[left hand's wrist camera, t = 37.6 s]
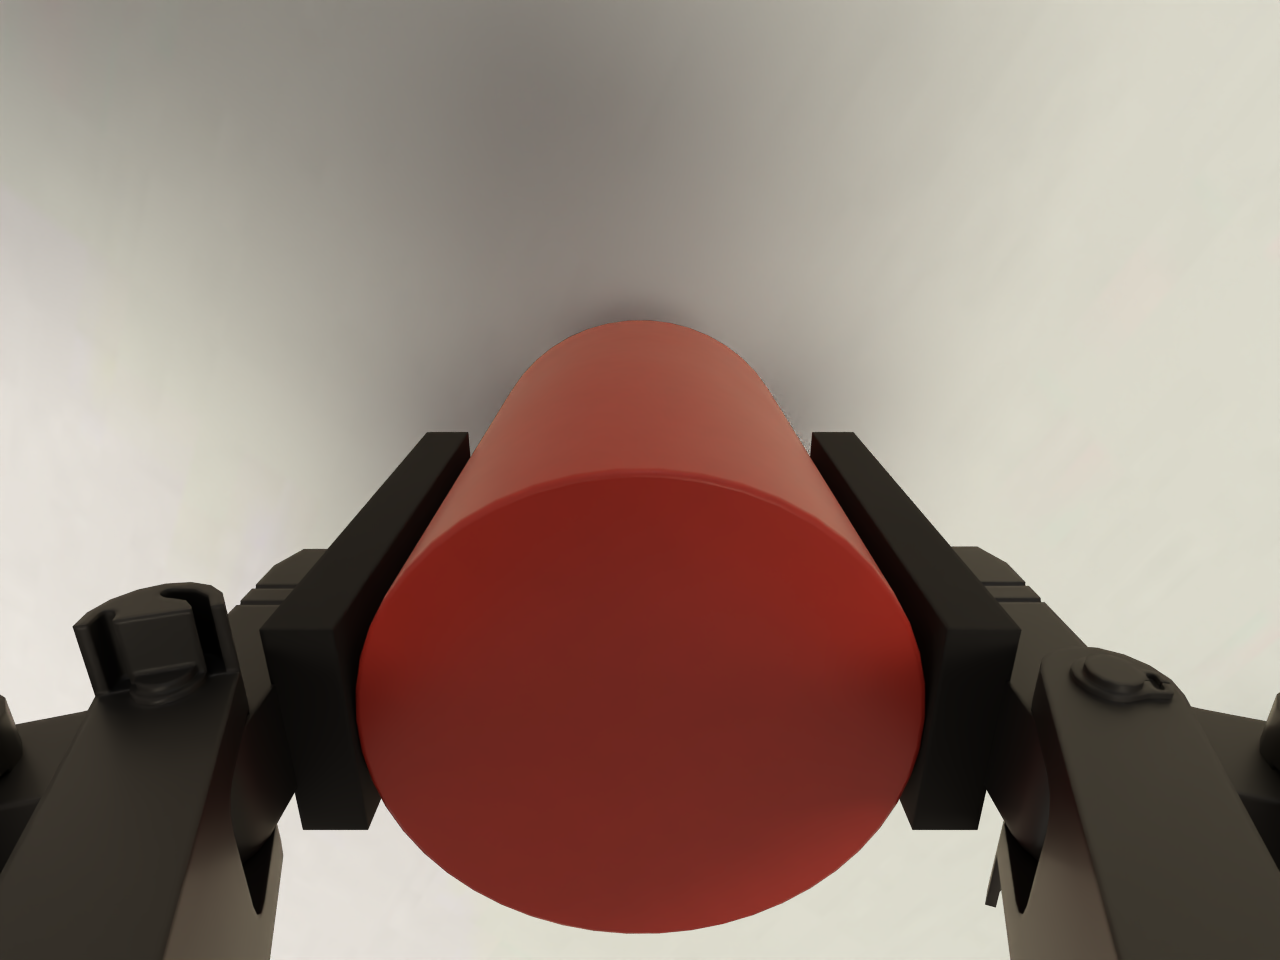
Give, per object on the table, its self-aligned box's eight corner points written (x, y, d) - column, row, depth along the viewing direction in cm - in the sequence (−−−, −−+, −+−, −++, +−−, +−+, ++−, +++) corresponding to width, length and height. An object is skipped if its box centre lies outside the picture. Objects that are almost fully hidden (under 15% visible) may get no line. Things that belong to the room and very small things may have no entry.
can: (822, 351, 15) (1016, 531, 7) (747, 615, 17) (834, 966, 10) (512, 292, 15) (368, 416, 7) (478, 570, 17) (341, 899, 9)
